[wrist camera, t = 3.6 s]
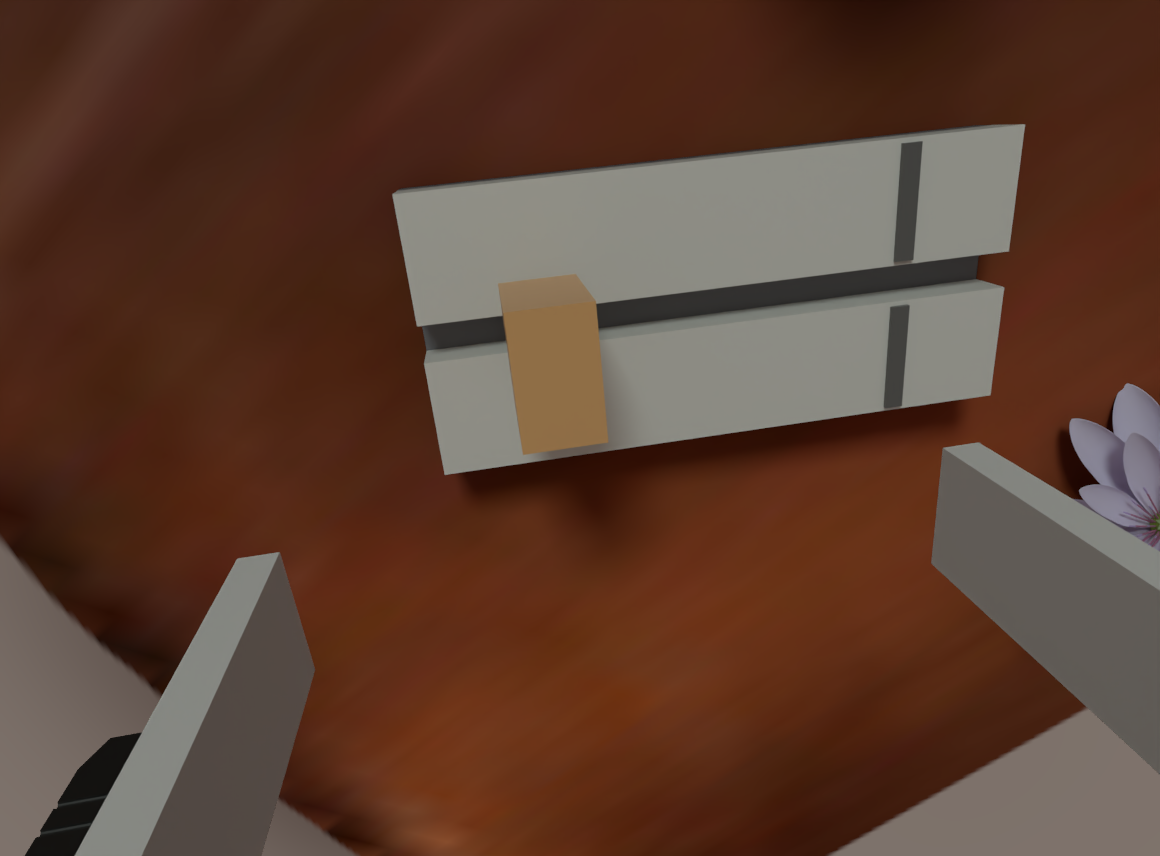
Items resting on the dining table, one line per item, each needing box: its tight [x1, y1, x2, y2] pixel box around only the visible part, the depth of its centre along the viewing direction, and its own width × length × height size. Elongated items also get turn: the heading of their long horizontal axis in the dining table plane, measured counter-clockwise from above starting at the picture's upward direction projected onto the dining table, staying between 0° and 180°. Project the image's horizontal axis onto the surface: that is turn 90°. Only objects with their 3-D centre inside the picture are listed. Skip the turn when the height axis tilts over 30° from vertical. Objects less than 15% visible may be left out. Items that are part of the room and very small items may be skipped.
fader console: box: [392, 124, 1025, 475], centre depth 33 cm, size 12×26×3 cm, turn 95°
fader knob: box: [498, 274, 608, 455], centre depth 28 cm, size 5×3×9 cm, turn 5°
